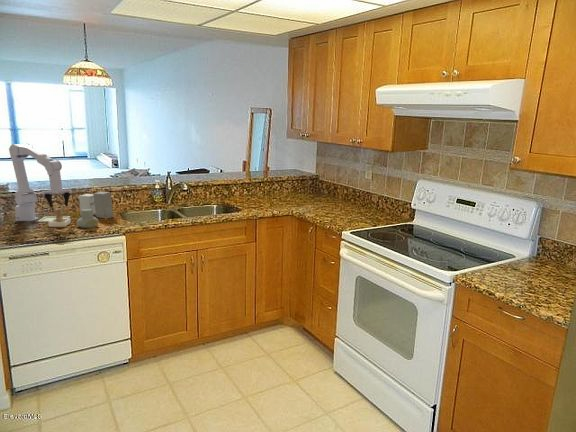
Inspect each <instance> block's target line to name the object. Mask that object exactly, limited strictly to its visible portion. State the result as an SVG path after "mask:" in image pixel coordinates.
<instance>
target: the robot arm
mask: <svg viewBox="0 0 576 432" xmlns="http://www.w3.org/2000/svg"><path fill="white" fill-rule="evenodd" d="M8 151H9V155H10V159H11V160H12V161H11V162H12V165H13V170H14V174H15V178H16V182H17V186H18V190H16V192H15V193H14V195H15V196H14V197H15V198H14V201H15V203H16V205H15V207H14V212H15V213H14V216H15V222H31V221H35V220H37V219H38V218H39V217H38V216H37V217H36V212H35V211H36V210H35V209H36V208H35V205H36V203H37V201H38V196H37V195H36V192H35V190H34V189H32V188H30V185H29V180H28V177H27V172H26V167H25V163H24V161H25V159H27V158H28V157H31V158H34V159H35V160H36V162H37V164H40V165H41V166H43V167H44V168H45V169H44V170H45V171H46V172H47V175H48V179H49V180H48V181H49V185H50V186H49V187H50V190H43V191H41V193H42V196H44V198H45V200H46V201H47V203H48V205H49V206H50V208H53V207H54V205H53V195H58V194H59V195H60V194H61V195H62V194H63V200H64V206H65V207H66V208H67V207H68V206H69V200H70V199H69V198H70V196H71V194H72V193H73V192H72V189H71V188H70V189H63V183H62V175H61V170H62V167H63V165H62V163H61V161H59V160H58V159H53V158H51V157H50V156H48V155H47V154H46V153H40V152H39V151H37V150H36V149H34V147H33V145H31V144H30V143H22V144H21V143H20V144H19V143H18V144H15V143H13V144H11V145H10V146H9V148H8Z"/></svg>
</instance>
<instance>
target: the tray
mask: <svg viewBox="0 0 576 432" xmlns="http://www.w3.org/2000/svg"><path fill="white" fill-rule="evenodd" d="M62 217H63V219H71V215H62ZM53 219H56V215H48V216H47V215H45V216H44V217H42V218H40V219H39V220H37V221H36V222H37V223H48V222H50V221H51V220H53Z"/></svg>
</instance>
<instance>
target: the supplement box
mask: <svg viewBox="0 0 576 432" xmlns="http://www.w3.org/2000/svg"><path fill="white" fill-rule="evenodd" d="M78 201H79V202H78V203H79V213H80V214H79V216H81V210H82V209H92V210H93V216H95V215H96V210H95V203H94V196H93V194H92V193H85V194H80V195H78Z"/></svg>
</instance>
